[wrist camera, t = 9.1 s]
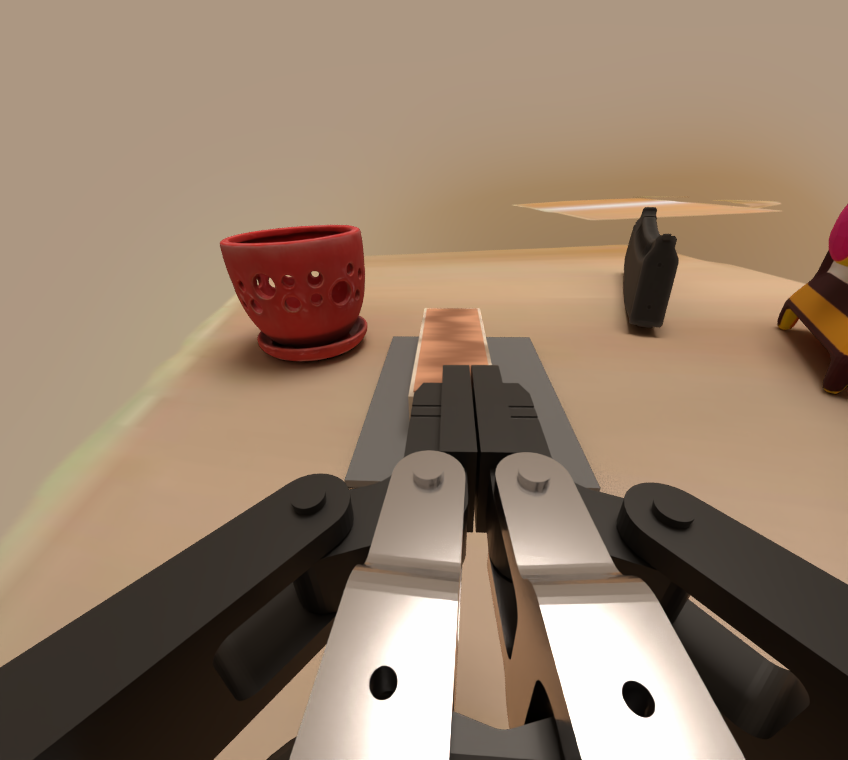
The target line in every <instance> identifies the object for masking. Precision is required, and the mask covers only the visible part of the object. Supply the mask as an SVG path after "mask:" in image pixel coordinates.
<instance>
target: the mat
mask: <svg viewBox="0 0 848 760" xmlns="http://www.w3.org/2000/svg"><path fill="white" fill-rule="evenodd" d="M486 340H487V345H488V349H489V354H490V359H491V363H492V365H498V366H499V369H500V373H501V377H502V382H503V383H519V384H520V385H521V386H522V387H523V388H524V389H525V390H526V391H528V392H529V393H530V395H531V398H532V401H533V404H534V408H535V410H536V413H537V416H538V419H539V422H540V424H541V427H542V430H543V433H544V436H545V439H546V442H547V445H548V448H549V450H550V453H551V456H552V459H554V460H555V461H557V462H558V463H560V464H561V465H562V466H563V467H565V469H566V470H567V471H568V472H569V474H570V475H571V477H572V479H573V481H574V482H575V483H577V484H579V485H581V486H583V487H585V488H588V489H591V490H594V491H598V492H599V491H600V486H599V484H598V482H597V480H596V478H595V476H594V473H593V471H592V469H591V467H590V465H589V463H588V461H587V459H586V456H585V454H584V452H583V450H582V448H581V446H580V444H579V442H578V440H577V437H576V435H575V433H574V431H573V429H572V427H571V425H570V423H569V420H568V418H567V416H566V414H565V412H564V410H563V408H562V406H561V403H560V401H559V399H558V397H557V395H556V393H555V391H554V389H553V386H552V384H551V382H550V380H549V378H548V376H547V374H546V372H545V369H544V367H543V365H542V363H541V361H540V359H539V357H538V355H537V352H536V350H535V348H534V346H533V344H532V342H531V340H530V338H529V337H486ZM418 341H419V337H393V339H392V342H391V345H390V348H389V351H388V354H387V357H386V360H385V363H384V366H383V369H382V371H381V374H380V377H379V380H378V383H377V386H376V389H375V392H374V395H373V398H372V401H371V404H370V407H369V410H368V413H367V416H366V419H365V422H364V424H363V427H362V430H361V433H360V436H359V439H358V442H357V445H356V448H355V451H354V454H353V457H352V460H351V463H350V466H349V469H348V472H347V475H346V477H345V483H346V485H347V486H348V487H353V488H360V487H364V486H368V485H372V484H375V483H378V482H380V481H383V480H385V479H386V478H388V477H389V476H391V475H392V472H393V470H394V468H395V466H396V465H397V463H398V462H399V461H400V460H401V459H403V458H404V453H405V447H406V440H407V434H408V428H409V402H408V395H409V390H410V384H411V379H412V373H413V368H414V363H415V357H416V352H417V346H418Z"/></svg>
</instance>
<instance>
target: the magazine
mask: <svg viewBox="0 0 848 760" xmlns="http://www.w3.org/2000/svg"><path fill="white" fill-rule="evenodd" d="M656 212H657V209H656V208H655V207H645V208H644V209H643V212H642V215H641V217H640V219H639V220H638V221H637V222H636V224H635V225H634V227H633V231H632V234H631V237H630V241H629V245H628V248H627V252H626V256H625V263H624V303H625V308H626V311H627V314H628V317H629V323H630V324H635V325H636V326H640V327H649V328H652V327H661V326H662V324H663V320H664V317H665V313H666V309H667V305H668V301H669V297H670V293H671V290H672V286H673V282H674V278H675V274H676V270H677V266H678V256H677V253H676V250H675V245H676V241H677V239H676V237H675V236H671V234H663V236H662V235H660V234H659V232H658V228H657V222H656V219H657V217H656Z"/></svg>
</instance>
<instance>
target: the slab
mask: <svg viewBox="0 0 848 760" xmlns="http://www.w3.org/2000/svg"><path fill="white" fill-rule="evenodd" d="M443 365H469V367H470V373H471V365H492V363H491V359H490V354H489V349H488V345H487V340H486V335H485V330H484V326H483V321H482V316H481V312H480V309H474V308H424V314H423V319H422V325H421V330H420V335H419V341H418V346H417V352H416V357H415V363H414V368H413V373H412V379H411V384H410V390H409V395H408V402H409V421H410V418H411V409H412V403H413V396H414V392H415V391H416V390H417V389H418V388H419V387H420V386H421V385H422V384H423V383H442V373H443Z"/></svg>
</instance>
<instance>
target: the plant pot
mask: <svg viewBox="0 0 848 760" xmlns="http://www.w3.org/2000/svg"><path fill="white" fill-rule="evenodd" d="M220 247H221V251H222V255H223V259H224V262H225V265H226V268H227V271H228V274H229V276H230V279H231V281H232V283H233V286H234V289H235V292H236V294H237V296H238V298H239V300H240V302H241V304H242V306H243V308H244V309H245V311H246V313H247V314H248V316H249V317H250V318H251V320H252V321H253V322H254V323H255V325H256V326H257V327H258V328H259V329H260V330H261V332H260V333H259V335H258V339H257V340H258V344H259V346H260V348H261V349H262V350H263V351H265V352H266V353H267V354H269V355H271V356H273V357H276V358H279V359H282V360H289V361H314V360H321V359H326V358H330V357H334V356H337V355H340V354H342V353H345V352H347V351H349V350H350V349H352V348H354V347H355V346H356V345H357V344H358V343H360V341H361V340H362V339H363V338H364V336H365V334H366V331H367V322H366V320H365V319H364V318H362V317H361V316H359V313H360V310H361V307H362V303H363V298H364V288H365V267H364V253H363V244H362V237H361V231H360V229H359V228H357V227H354V226H349V225H318V226H300V227H288V228H278V229H270V230H261V231H255V232H249V233H243V234H238V235H235V236H231V237H228V238H225V239H223V240H222V241H221V242H220ZM312 271H317V272H319V276H318V277H314V276H312V274H311V272H312ZM285 275H290V276H292V277H287V276H285ZM269 278H271V279H272V280H273V282H274V284H275V288H274V287H272V286H271V285H270V284H269ZM257 280H258V282H259V285H257Z"/></svg>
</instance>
